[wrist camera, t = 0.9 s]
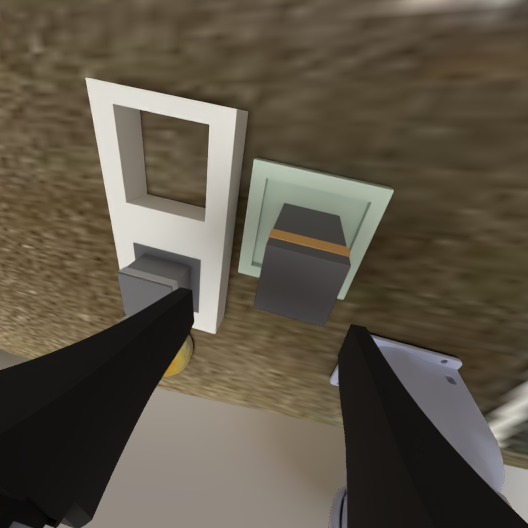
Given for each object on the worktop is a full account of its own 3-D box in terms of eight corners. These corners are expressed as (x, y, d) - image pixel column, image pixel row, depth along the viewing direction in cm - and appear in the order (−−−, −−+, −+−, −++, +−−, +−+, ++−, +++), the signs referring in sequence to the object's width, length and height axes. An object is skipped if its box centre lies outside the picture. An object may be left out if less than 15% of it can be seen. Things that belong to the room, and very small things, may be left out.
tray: (390, 186, 16) (394, 190, 15) (342, 292, 20) (343, 299, 19) (257, 157, 16) (253, 158, 15) (241, 266, 21) (237, 272, 20)
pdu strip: (248, 111, 15) (216, 105, 10) (224, 315, 24) (202, 360, 20) (117, 83, 16) (31, 66, 11) (143, 293, 25) (103, 331, 20)
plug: (340, 215, 17) (352, 265, 11) (322, 264, 19) (324, 328, 13) (283, 201, 17) (265, 243, 11) (272, 251, 19) (252, 308, 13)
